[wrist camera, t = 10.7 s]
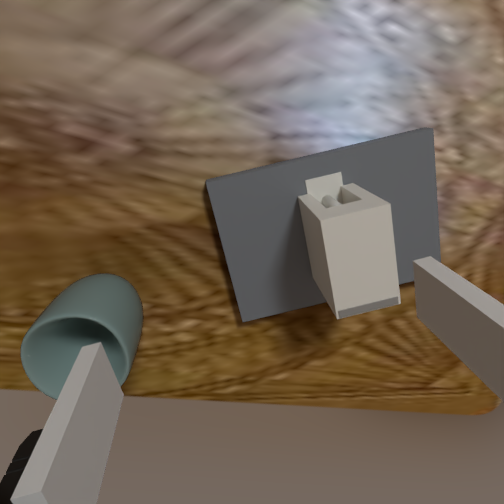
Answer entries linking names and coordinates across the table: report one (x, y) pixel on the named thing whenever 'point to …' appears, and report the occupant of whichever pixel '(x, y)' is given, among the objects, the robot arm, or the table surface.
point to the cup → (84, 330)
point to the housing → (352, 251)
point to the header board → (329, 195)
